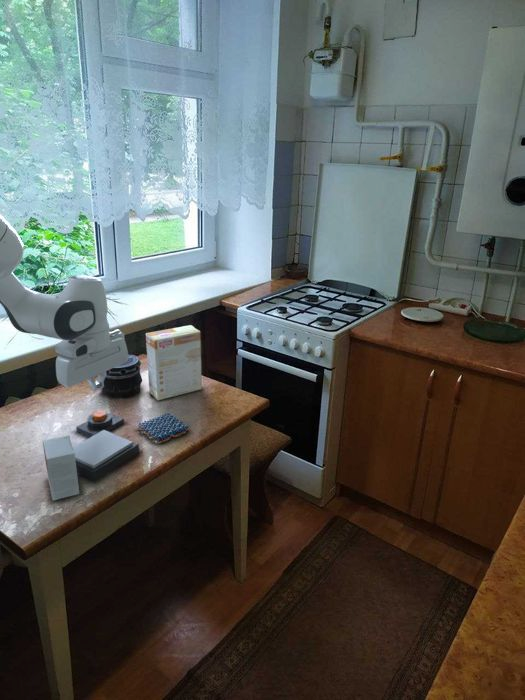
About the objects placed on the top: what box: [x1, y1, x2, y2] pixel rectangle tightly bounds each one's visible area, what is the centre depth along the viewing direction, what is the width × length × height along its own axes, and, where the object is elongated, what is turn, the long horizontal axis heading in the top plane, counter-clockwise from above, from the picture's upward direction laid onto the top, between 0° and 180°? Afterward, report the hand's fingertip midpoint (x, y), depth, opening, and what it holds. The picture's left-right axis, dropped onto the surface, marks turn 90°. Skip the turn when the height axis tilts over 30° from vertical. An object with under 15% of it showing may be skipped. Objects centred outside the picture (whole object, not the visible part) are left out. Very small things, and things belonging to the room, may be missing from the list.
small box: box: [42, 435, 80, 502], centre depth 107 cm, size 8×6×10 cm
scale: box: [72, 430, 140, 483], centre depth 118 cm, size 14×12×3 cm
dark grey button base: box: [75, 411, 125, 438], centre depth 132 cm, size 10×7×3 cm
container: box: [101, 354, 143, 399], centre depth 151 cm, size 13×13×10 cm
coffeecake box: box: [145, 324, 203, 401], centre depth 150 cm, size 15×7×20 cm, turn 124°
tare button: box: [92, 410, 107, 421], centre depth 131 cm, size 3×3×2 cm
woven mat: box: [136, 412, 190, 444], centre depth 131 cm, size 10×11×2 cm
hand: (97, 388), depth 128 cm, fingers closed
